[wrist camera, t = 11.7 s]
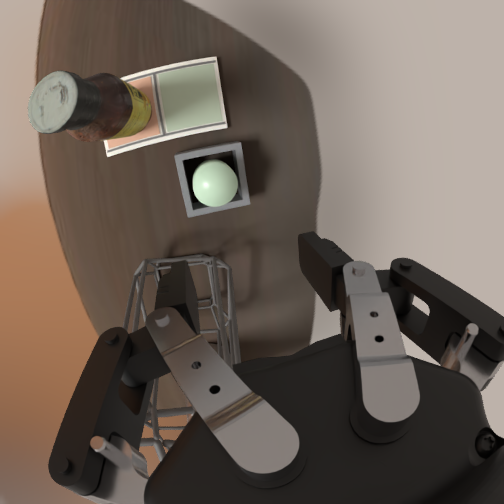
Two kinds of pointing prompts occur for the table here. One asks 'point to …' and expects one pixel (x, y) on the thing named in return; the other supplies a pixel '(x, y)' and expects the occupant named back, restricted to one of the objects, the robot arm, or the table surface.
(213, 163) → the button
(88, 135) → the sauce bottle
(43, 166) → the table surface
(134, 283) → the geometric lantern
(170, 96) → the colouring card
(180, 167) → the button housing
